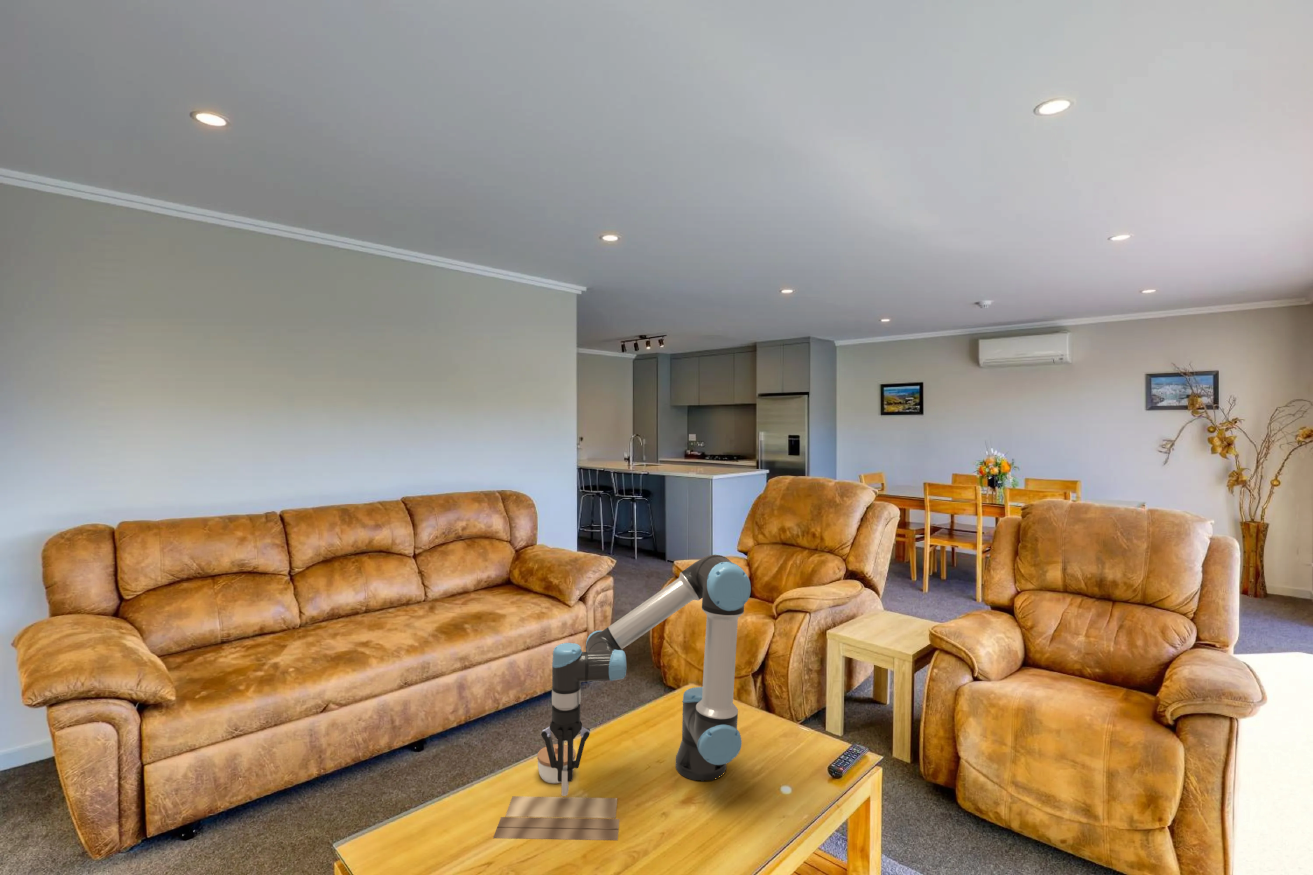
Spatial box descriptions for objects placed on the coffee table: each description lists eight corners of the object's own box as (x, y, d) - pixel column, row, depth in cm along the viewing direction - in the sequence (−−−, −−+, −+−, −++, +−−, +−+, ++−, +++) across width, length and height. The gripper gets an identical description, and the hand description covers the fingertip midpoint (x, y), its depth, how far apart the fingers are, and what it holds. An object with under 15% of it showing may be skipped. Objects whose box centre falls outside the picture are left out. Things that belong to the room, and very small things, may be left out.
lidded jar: (567, 793, 168) (568, 759, 168) (530, 788, 170) (531, 754, 170) (580, 772, 179) (580, 740, 179) (545, 767, 181) (546, 735, 181)
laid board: (619, 824, 155) (619, 818, 155) (617, 846, 147) (617, 839, 147) (500, 822, 155) (501, 816, 155) (492, 844, 147) (492, 837, 147)
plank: (617, 803, 164) (617, 797, 164) (615, 823, 156) (615, 818, 156) (512, 801, 163) (512, 796, 163) (505, 821, 155) (505, 816, 155)
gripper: (592, 698, 166) (591, 784, 166) (544, 697, 165) (542, 784, 166) (589, 710, 158) (588, 801, 158) (538, 710, 158) (537, 800, 158)
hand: (565, 792), depth 162 cm, fingers closed
